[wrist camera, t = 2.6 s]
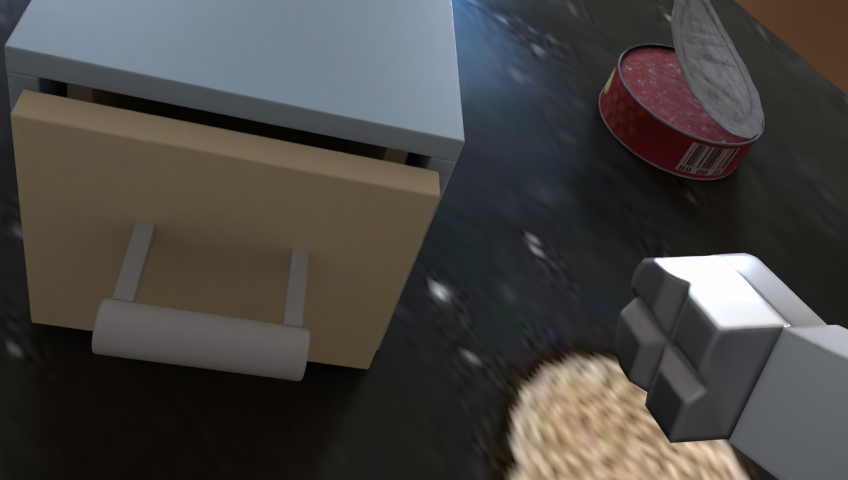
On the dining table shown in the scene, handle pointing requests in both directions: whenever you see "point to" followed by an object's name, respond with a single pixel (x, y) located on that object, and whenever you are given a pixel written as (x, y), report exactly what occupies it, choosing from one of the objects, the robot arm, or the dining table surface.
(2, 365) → the dining table surface
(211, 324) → the beige drawer
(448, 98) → the drawer casing
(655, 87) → the canned food
